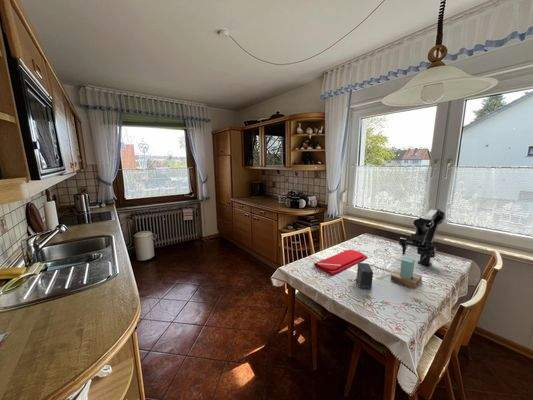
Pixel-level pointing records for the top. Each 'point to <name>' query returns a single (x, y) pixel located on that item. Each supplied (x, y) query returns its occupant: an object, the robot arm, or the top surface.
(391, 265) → the top surface
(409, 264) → the teal block
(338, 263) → the dish drying mat
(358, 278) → the small box
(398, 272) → the walnut base
